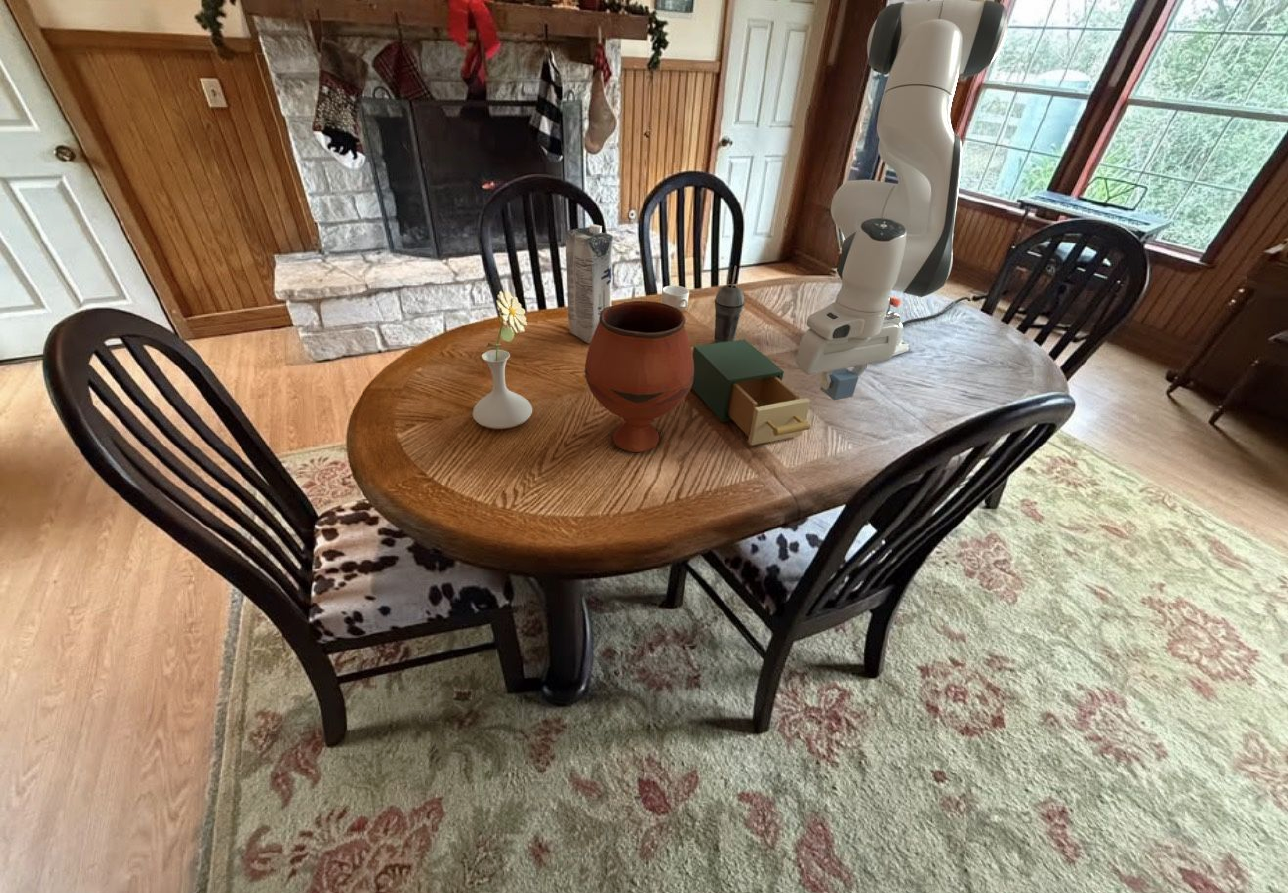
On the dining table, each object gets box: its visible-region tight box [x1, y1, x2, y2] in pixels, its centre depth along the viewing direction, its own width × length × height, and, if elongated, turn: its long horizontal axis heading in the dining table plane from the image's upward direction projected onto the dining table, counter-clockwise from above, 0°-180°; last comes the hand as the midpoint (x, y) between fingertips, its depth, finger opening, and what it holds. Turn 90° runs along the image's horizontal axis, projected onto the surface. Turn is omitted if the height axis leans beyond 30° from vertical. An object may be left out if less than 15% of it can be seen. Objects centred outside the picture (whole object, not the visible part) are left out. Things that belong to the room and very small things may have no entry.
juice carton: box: [564, 224, 614, 345], centre depth 134 cm, size 9×10×27 cm
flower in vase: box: [472, 290, 533, 430], centre depth 102 cm, size 13×11×25 cm
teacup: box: [661, 285, 690, 311], centre depth 157 cm, size 10×8×5 cm
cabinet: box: [691, 338, 785, 423], centre depth 116 cm, size 16×13×10 cm
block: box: [820, 368, 859, 401], centre depth 106 cm, size 4×4×4 cm
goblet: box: [584, 300, 694, 453], centre depth 98 cm, size 19×19×25 cm
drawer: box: [727, 376, 811, 447], centre depth 107 cm, size 18×11×8 cm, turn 22°
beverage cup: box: [714, 265, 745, 343], centre depth 134 cm, size 7×7×20 cm
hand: (838, 385), depth 106 cm, fingers closed on block, 4 cm apart
